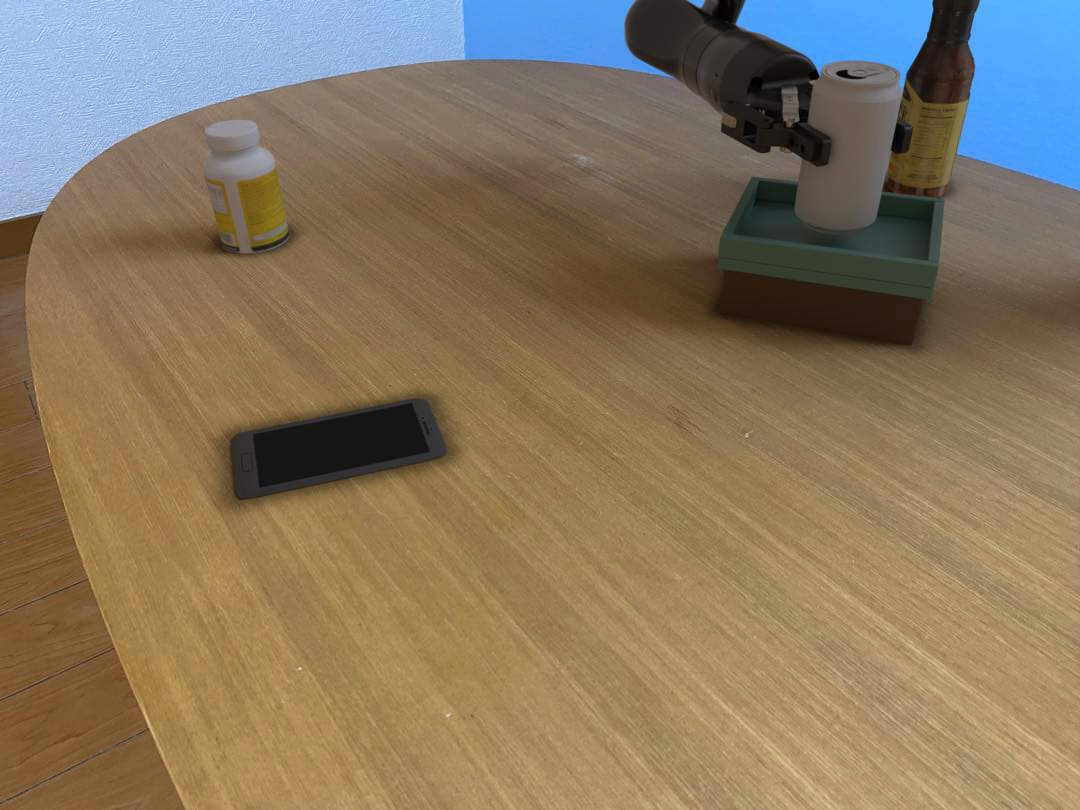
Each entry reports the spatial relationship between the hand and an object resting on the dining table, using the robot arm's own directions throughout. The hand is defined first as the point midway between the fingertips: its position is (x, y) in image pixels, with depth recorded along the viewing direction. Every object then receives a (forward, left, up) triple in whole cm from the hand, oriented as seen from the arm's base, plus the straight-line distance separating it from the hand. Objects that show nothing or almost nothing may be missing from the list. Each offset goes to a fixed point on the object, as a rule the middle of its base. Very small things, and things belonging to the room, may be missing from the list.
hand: (866, 147), depth 70 cm
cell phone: (+29, +30, -14) cm, 45 cm away
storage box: (+1, -2, -14) cm, 14 cm away
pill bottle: (+54, +4, -14) cm, 56 cm away
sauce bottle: (-5, -29, -14) cm, 32 cm away
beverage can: (+2, -2, -7) cm, 8 cm away
